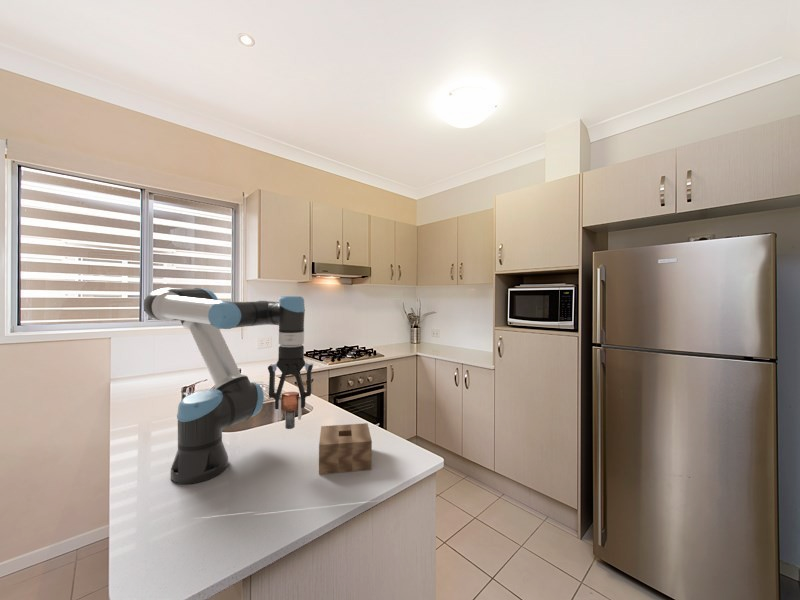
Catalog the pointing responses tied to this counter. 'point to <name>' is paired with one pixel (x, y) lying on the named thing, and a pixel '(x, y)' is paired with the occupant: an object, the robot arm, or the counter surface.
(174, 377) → the counter surface
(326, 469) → the hitch block
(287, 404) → the copper cylinder with shaft
